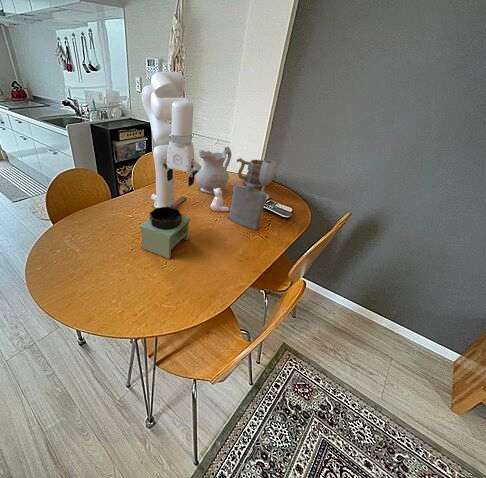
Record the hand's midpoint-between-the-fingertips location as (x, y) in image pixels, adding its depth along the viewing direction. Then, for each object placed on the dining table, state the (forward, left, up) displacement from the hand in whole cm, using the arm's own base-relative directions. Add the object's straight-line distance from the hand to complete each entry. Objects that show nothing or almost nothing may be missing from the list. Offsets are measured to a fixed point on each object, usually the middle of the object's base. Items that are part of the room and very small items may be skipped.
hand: (180, 182), depth 105 cm
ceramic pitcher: (-6, +51, -24) cm, 57 cm away
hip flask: (+23, +22, -24) cm, 40 cm away
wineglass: (+23, +56, -24) cm, 65 cm away
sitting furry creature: (+7, +29, -24) cm, 38 cm away
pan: (0, -7, -13) cm, 14 cm away
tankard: (+10, +74, -24) cm, 79 cm away
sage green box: (0, -12, -24) cm, 26 cm away
